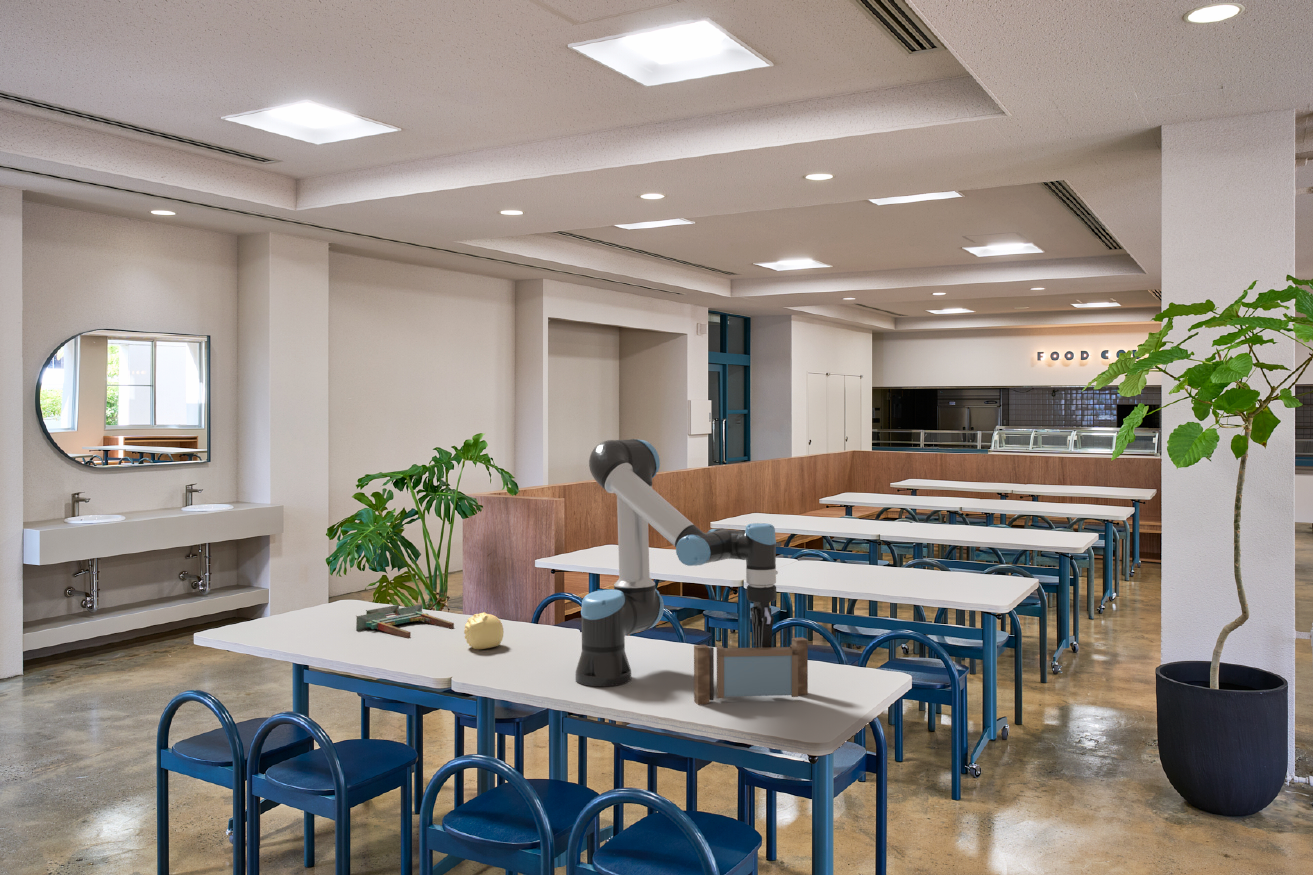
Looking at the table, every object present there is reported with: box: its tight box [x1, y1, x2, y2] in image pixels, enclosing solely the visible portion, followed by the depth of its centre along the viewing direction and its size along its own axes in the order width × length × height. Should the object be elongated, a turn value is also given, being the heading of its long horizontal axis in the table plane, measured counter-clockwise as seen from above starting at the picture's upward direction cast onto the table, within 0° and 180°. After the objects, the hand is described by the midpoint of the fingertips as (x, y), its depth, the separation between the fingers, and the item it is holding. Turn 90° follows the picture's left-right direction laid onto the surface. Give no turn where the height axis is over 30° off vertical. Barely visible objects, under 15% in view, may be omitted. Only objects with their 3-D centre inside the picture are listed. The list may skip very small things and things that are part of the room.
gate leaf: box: [716, 644, 799, 699], centre depth 238 cm, size 20×3×12 cm, turn 93°
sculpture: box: [463, 611, 504, 650], centre depth 296 cm, size 12×12×11 cm
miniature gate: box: [355, 603, 455, 639], centre depth 326 cm, size 27×6×30 cm
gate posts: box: [693, 636, 809, 706], centre depth 240 cm, size 30×3×14 cm, turn 106°
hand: (762, 676), depth 243 cm, fingers closed
